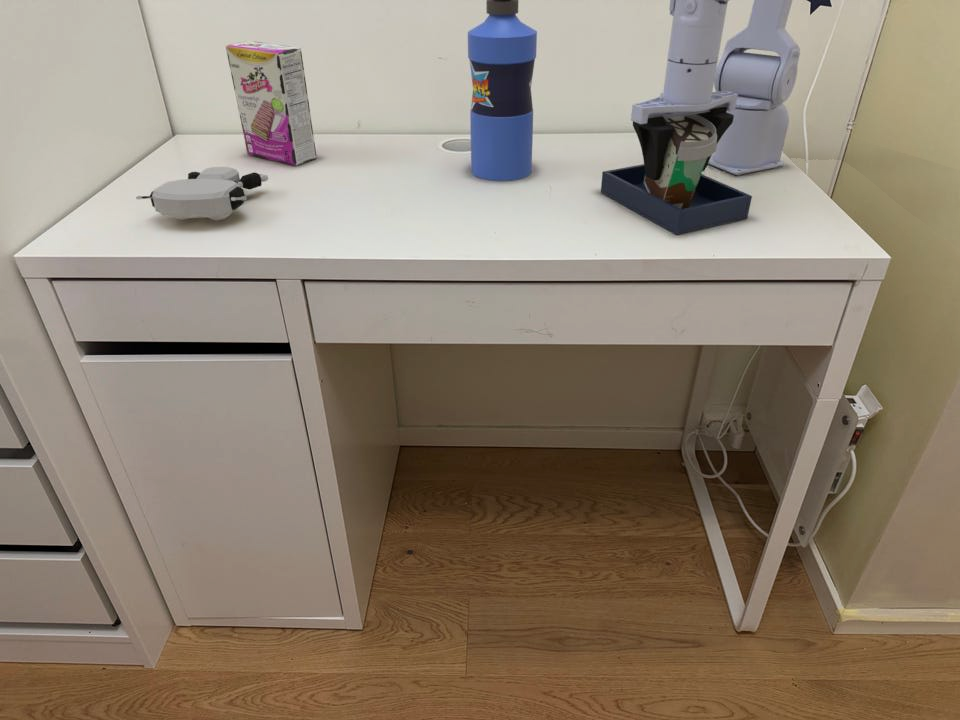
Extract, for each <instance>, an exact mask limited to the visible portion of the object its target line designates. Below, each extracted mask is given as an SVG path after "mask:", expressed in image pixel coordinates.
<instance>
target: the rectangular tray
mask: <svg viewBox="0 0 960 720" xmlns="http://www.w3.org/2000/svg"><path fill="white" fill-rule="evenodd" d="M644 177H645V167H644V163H641V164H637V165H632V166H626V167H620V168H615V169H609V170H603V171H602V174H601V183H600V184H601V185H600V194H602V195H603V196H606V197H607V198H610V199H611V200H613V201H615V202H616V203H618V204H620V205H622V206H623V207H625V208H627V209H629V210H631V211H632V212H634V213H636V214H638V215H640V216H642V217H643V218H644V219H647V220H648V221H650V222H653V224H656V225H657V226H659V227H661V228H663V229H664V230H666V231H669V232H671V233H672V234H674V235H676V236H679V235H683V234H687V233H692V232H696V231H701V230H705V229H709V228H713V227H718V226H721V225H726V224H730V223H731V224H732V223H735V222H740V221H743V220H747V219H748V217H749V212H750V208H751V202H752V198H753V196H752V195H750V193H749V194H748V193H745V192H744V191H741V190H740V189H737V188H735V187H733V186H730V185H728V184H726V183H723V182H722V181H719V180H716V179H714V178H712V177H709V176H707V175H705V174H702V173H701V176H700V179H699V181H698V184H697V187H696V189H695V192H694V195H693V197H692V200H691V203H690V205H689V208H685V209H679V208H677V207H675V206H674V205H672V204H670V203H668V202H666V201H664V200H662V199H660V198H658V197H656V196H654V195H652V194H650V193H648V192H647V189H646V187H645V185H644V183H643V182H644Z"/></svg>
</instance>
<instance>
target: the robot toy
mask: <svg viewBox="0 0 960 720" xmlns="http://www.w3.org/2000/svg"><path fill="white" fill-rule="evenodd" d="M239 172H240V171H238V169H237V168H234V167H230V166H211V167H206V168H204V169H203V170H202V171H201V172H199V171H191V172H188V174H187V178H186V179H176V180H170V181H166V182H165V183H163V184H161V185H160V186H157V187H155V188H154V189H153V190H152V191H151V192H150V194H149V195H136V196H135V199H136V200H146V199H147V200H148V199H150V202H151V206H152V207H153V208H154V210H155V212H157V213H159V214H161V215H162V216H166V217H170V218H171V217H172V218H174V219H176V220H179V221H180V220H181V221H185V220H190V219H194V218H195V219H198V218H200V219H201V218H209V220H212V221H222V220H226V219H227V218H228V217H230V216H231V215H232V213H233V212H234V211H237V210H238V208H239V207H241V206H242V205H244V203H245V202H246V201H247V195H245V190H244V189H246V190H253V189H256V188H259V187H262V183H265V182H267V181H268V180H269V176H268V175H267V174H262V173H258V172H250V173H247V174H244V175H242V176H241V178H240V173H239Z"/></svg>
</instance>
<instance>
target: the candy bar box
mask: <svg viewBox="0 0 960 720" xmlns="http://www.w3.org/2000/svg"><path fill="white" fill-rule="evenodd" d="M224 47H225V51H226V55H227V60H228V65H229V70H230V75H231V79H232V86H233V90H234V95H235V99H236V103H237V110H238V114H239V119H240V124H241V129H242V133H243V139H244V143H245V149H246V153H247V155H249V156H254V157H257V158H262V159H266V160H270V161H274V162H279V163H282V164H286V165H292V166H295V167H297V166H301V165H303V164H305V163H308V162H310V161H313V160H315V159H317V158H318V157H317V151H316V143H315V136H314V130H313V122H312V115H311V109H310V108H311V107H310V101H309V95H308V88H307V82H306V81H307V80H306V74H305V68H304V61H303V53H302V48H301V47H297V46H289V45H283V44H273V43H268V42H261V41H253V40H247V41H242V42H241V41H240V42H236V43H231V44H228V45H225V46H224Z"/></svg>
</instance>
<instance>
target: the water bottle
mask: <svg viewBox="0 0 960 720" xmlns="http://www.w3.org/2000/svg"><path fill="white" fill-rule="evenodd" d="M518 13H519V0H486V14H488V16H487V17H486V18H485V20H484V21H483V22H482V23H480V24H478V25H477V26H474V27H473V28H471V29H470V30H468V31H467V58H468V59H469V69H470V75H471V84H472V85H471V86H472V95H471V104H470V110H469V111H470V115H469V117H470V118H469V121H470V124H469V125H470V126H469V127H470V172H471V174H472V175H473V176H474V177H476V178H479V179H482V180H485V181H492V182H493V181H494V182H509V181H516V180H517V181H518V180H521V179H525V178H526V177H528V176H530V175H531V174H532V171H533V169H532V168H533V140H534V139H533V137H534V135H533V134H534V107H533V97H532V96H533V95H532V83H533V76H534V69H535V61H536V58H537V44H538V43H537V42H538V31H537V30H535V29H534V28H532V27H530V26H529V25H527V24H526V23H523V22H522V21H521V19H519V17H518V16H517V14H518Z"/></svg>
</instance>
